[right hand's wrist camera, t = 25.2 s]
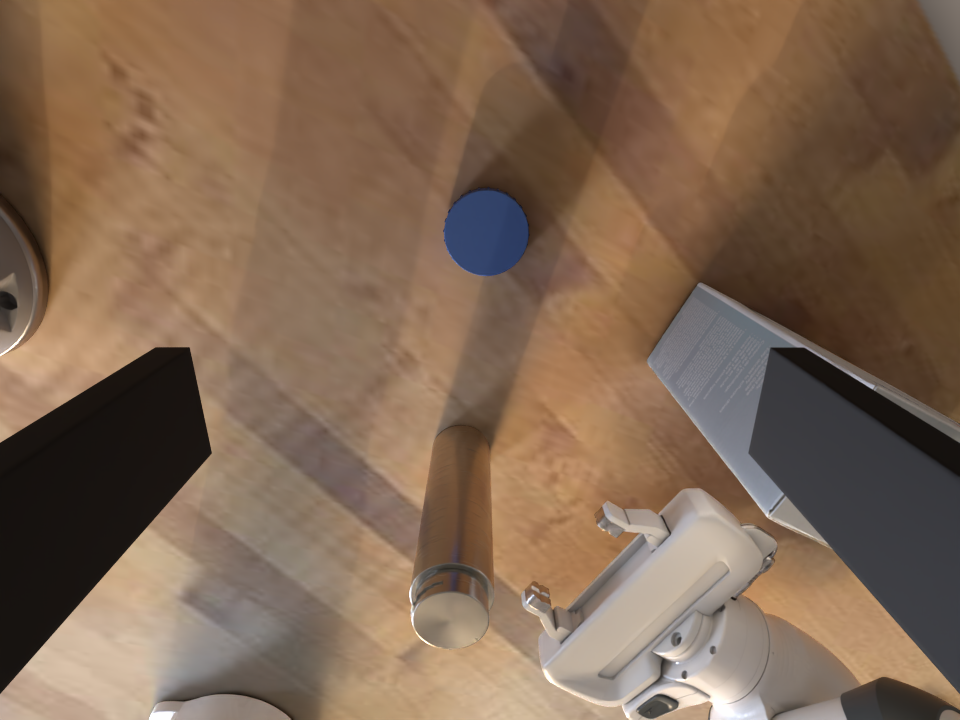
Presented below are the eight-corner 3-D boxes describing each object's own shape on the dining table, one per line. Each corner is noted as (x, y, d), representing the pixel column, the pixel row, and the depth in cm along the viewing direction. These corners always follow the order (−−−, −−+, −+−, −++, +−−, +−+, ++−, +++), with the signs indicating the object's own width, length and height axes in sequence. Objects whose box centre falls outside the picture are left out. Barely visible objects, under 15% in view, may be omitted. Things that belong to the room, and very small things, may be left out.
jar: (429, 426, 45) (400, 589, 28) (487, 422, 45) (492, 584, 28) (435, 475, 47) (411, 656, 30) (491, 472, 47) (497, 651, 30)
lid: (483, 287, 41) (483, 293, 39) (427, 227, 39) (425, 231, 37) (544, 232, 39) (547, 237, 37) (489, 168, 37) (489, 169, 36)
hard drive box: (859, 364, 43) (1151, 530, 24) (796, 440, 45) (1018, 643, 27) (697, 276, 40) (884, 387, 21) (640, 362, 43) (764, 527, 24)
